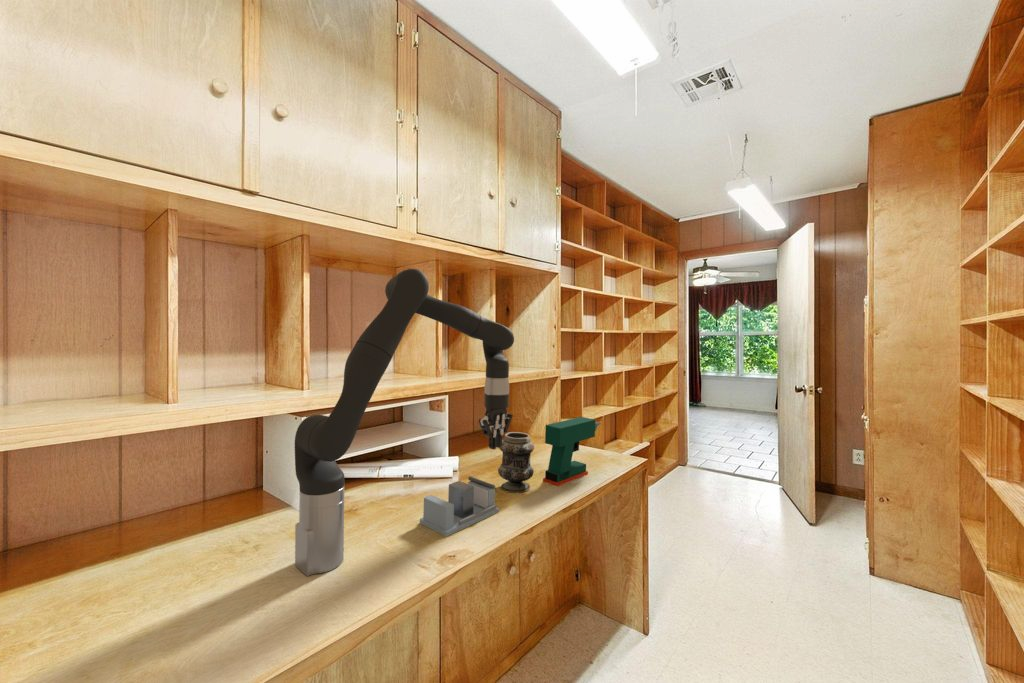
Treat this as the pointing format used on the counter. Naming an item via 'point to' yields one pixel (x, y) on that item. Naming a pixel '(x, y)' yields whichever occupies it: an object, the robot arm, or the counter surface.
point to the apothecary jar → (516, 462)
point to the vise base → (450, 516)
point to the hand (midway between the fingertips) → (495, 447)
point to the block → (461, 498)
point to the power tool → (567, 449)
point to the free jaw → (482, 492)
